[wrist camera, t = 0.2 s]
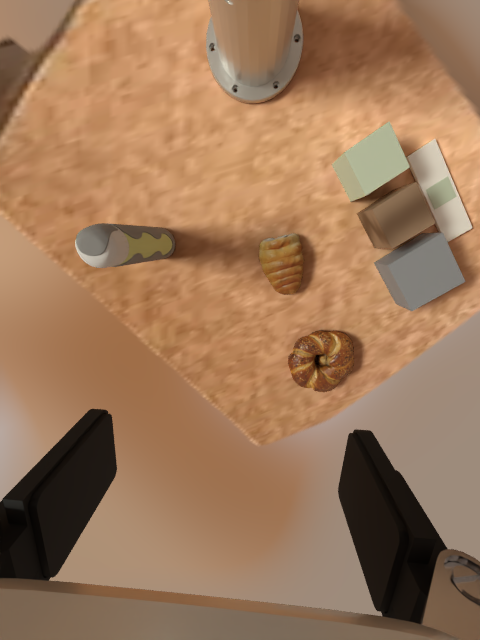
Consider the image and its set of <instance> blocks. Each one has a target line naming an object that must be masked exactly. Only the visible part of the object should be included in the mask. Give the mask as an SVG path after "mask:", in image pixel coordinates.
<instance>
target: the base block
mask: <svg viewBox="0 0 480 640" xmlns="http://www.w3.org/2000/svg"><path fill="white" fill-rule="evenodd" d="M374 264H375V266H376V268H377V269H378V271H379V273H380V275H381V277H382V279H383V281H384V282H385V284H386V286H387V288H388V290H389V292H390V294H391V296H392V297H393V299H394V301H395V303H396V304H397V305H399V306H402V307H404V308H406V309H408V310H410V311H413V310H415V309H417V308H419V307H420V306H422V305H424V304H426V303H428V302H429V301H431V300H433V299H435V298H437V297H439V296H440V295H442V294H444V293H446V292H448V291H449V290H451V289H453V288H455V287H457V286H459V285H460V284H462V283H464V282H465V280H464V277H463V275H462V273H461V271H460V269H459V267H458V264H457V262H456V260H455V258H454V256H453V254H452V251H451V249H450V247H449V245H448V243H447V241H446V238H445V236H444V234H443V233H422V234H421V235H419V236H417V237H416V238H414V239H412V240H411V241H409V242H407V243H406V244H404V245H402V246H401V247H399V248H397V249H396V250H394V251H392V252H391V253H389V254H387V255H386V256H384V257H383V258H381V259H379V260H378V261H376V262H374Z"/></svg>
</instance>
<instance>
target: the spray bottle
mask: <svg viewBox="0 0 480 640" xmlns="http://www.w3.org/2000/svg"><path fill="white" fill-rule="evenodd" d="M75 245H76V249H77V252H78V254H79V256H80V257H81V258H82V260H83V261H85V262H86V263H87V264H89V265H90V266H93V267H97V268H105V267H117V266H123V265H129V264H135V263H141V262H147V261H154V260H160V259H165V258H168V257H169V256H170V255H171V254H172V253H173V252H174V249H175V240H174V237H173V235H172V234H171V233H170V232H169V231H168V230H166V229H164V228H160V227H146V226H133V225H119V224H95V225H92V226H89V227H87V228H85V229H83V230H81V231H80V232H79V233H78V234H77V237H76V241H75Z"/></svg>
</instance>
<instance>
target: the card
mask: <svg viewBox="0 0 480 640" xmlns="http://www.w3.org/2000/svg"><path fill="white" fill-rule="evenodd" d="M406 159H407V162H408V164H409V166H410V170H411V172H412V174H413V176H414V179H415V181H416V182H417V184H418V186H419V188H420V191H421V193H422V195H423V197H424V200H425V202H426V204H427V206H428V208H429V211H430V213H431V215H432V217H433V219H434V222H435V225H436V227H437V230H438V232H439V233H443V234H444V236H445V238H446V241H447V242H449V241H451V240H452V239H454V238H456V237H458V236H459V235H461V234H463V233H465V232H466V231H468V230H470V229H472V225H471V223H470V220H469V218H468V216H467V213H466V211H465V209H464V206H463V204H462V201H461V199H460V197H459V194H458V192H457V189H456V187H455V185H454V182H453V180H452V178H451V175H450V173H449V170H448V168H447V166H446V163H445V161H444V159H443V156H442V154H441V151H440V149H439V147H438V144H437V142H436V139H433V140H432V141H430V142H429V143H427V144H426V145H424V146H423V147H421V148H420V149H418V150H417V151H415V152H414V153H412V154H410V155H409V156H407V157H406Z"/></svg>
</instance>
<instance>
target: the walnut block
mask: <svg viewBox="0 0 480 640" xmlns="http://www.w3.org/2000/svg"><path fill="white" fill-rule="evenodd" d="M357 215H358V217H359V219H360V221H361V223H362V225H363V227H364V229H365V231H366V233H367V235H368V237H369V238H370V240H371V242H372V244H373V246H374V248H384V249H393V248H395V247H397V246H398V245H400V244H402V243H403V242H405V241H407V240H408V239H410V238H412V237H413V236H415V235H417V234H418V233H420V232H422V231H424V230H425V229H427V228H429V227H430V226H432V225H434V224H435V222H434V219H433V217H432V215H431V213H430V211H429V208H428V206H427V204H426V202H425V200H424V197H423V195H422V193H421V191H420V188H419V186H418V184H417V182H414V183H412V184H409V185H406V186H403V187H400V188H398V189H395V190H393V191H391V192H390V193H388V194H387V195H385V196H384V197H382V198H380V199H379V200H377V201H376V202H374V203H373V204H371V205H370V206H368V207H366V208H365V209H363V210H362V211H360V212H359V213H357Z"/></svg>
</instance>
